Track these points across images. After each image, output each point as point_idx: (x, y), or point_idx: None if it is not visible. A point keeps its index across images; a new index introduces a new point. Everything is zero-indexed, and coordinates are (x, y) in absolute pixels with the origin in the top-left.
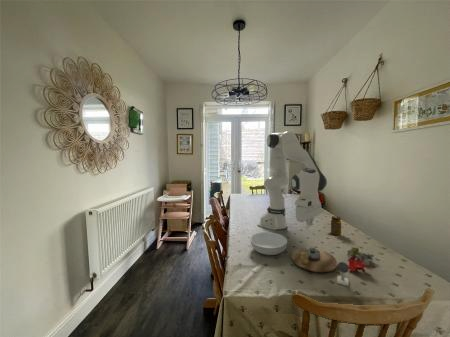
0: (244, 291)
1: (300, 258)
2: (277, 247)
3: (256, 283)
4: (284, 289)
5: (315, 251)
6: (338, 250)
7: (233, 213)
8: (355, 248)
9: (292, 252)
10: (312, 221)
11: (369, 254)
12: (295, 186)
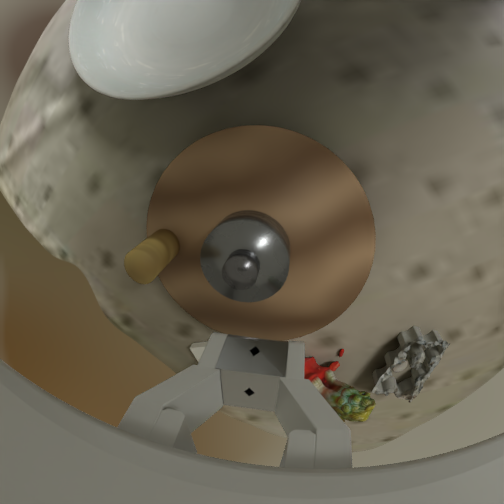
0: (5, 180)
1: (189, 206)
2: (108, 95)
3: (25, 174)
4: (57, 242)
5: (262, 275)
6: (450, 285)
7: None
8: (352, 419)
9: (216, 135)
10: (285, 427)
11: (416, 391)
12: None
